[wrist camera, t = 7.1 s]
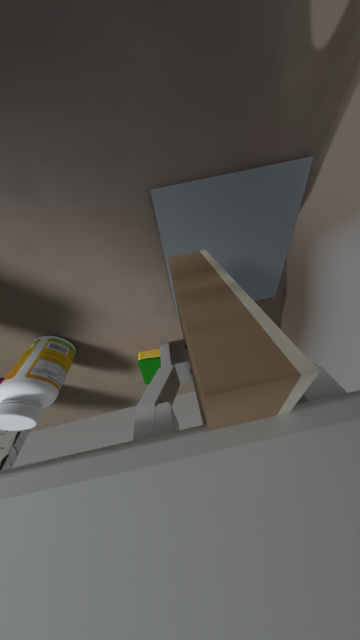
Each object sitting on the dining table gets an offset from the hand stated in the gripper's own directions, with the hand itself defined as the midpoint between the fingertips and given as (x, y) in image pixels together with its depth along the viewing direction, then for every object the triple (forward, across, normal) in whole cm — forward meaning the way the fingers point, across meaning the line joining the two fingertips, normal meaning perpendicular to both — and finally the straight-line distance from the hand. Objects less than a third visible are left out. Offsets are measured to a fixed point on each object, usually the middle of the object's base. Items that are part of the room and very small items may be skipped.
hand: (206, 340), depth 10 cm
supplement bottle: (+12, +19, +8) cm, 24 cm away
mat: (+11, -6, 0) cm, 13 cm away
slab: (+4, 0, 0) cm, 4 cm away
